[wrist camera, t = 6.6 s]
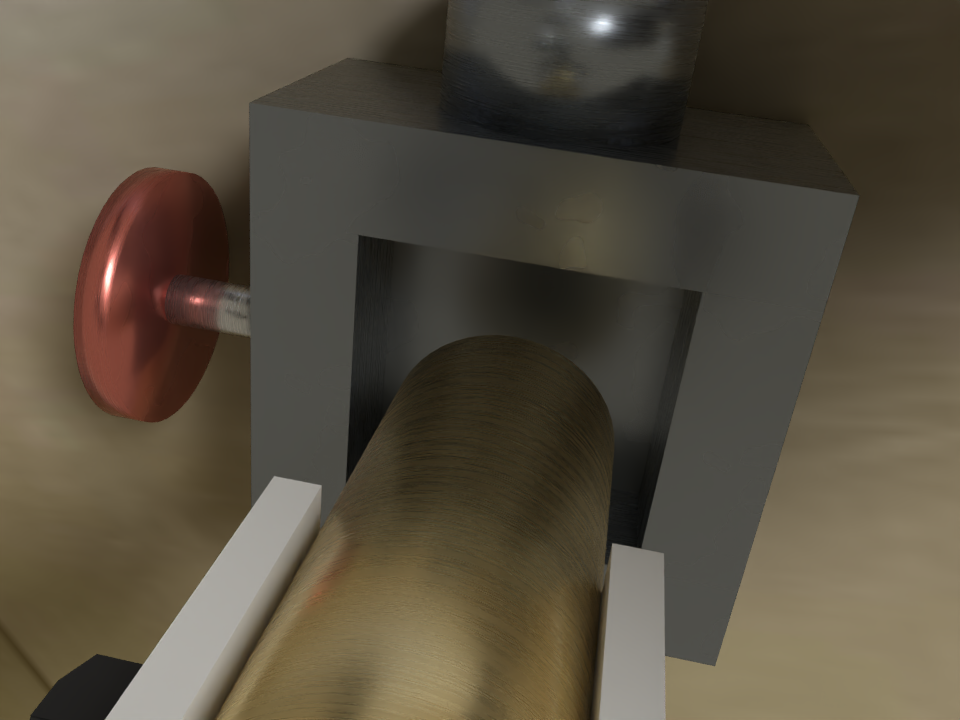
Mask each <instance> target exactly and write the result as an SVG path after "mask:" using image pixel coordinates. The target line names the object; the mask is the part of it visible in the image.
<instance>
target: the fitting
mask: <svg viewBox="0 0 960 720" xmlns="http://www.w3.org/2000/svg"><path fill="white" fill-rule="evenodd" d="M613 458H614V430H613V424H612V419H611V416H610V413H609V410H608V407H607V405H606V403H605V401H604V399H603V397H602V395H601V393H600V392H599V391H598V389H597V388H596V386H595V385H594V383H593V382H592V381H591V380H590V379H589V377H588V376H587V375H586V374H585V373H584V372H583V371H582V370H581V369H580V368H579V367H577V366H576V365H575V364H574V363H573V362H572V361H570V360H569V359H567V358H566V357H564V356H563V355H561V354H560V353H558V352H556V351H554V350H552V349H550V348H548V347H546V346H544V345H541V344H539V343H536V342H533V341H530V340H526V339H522V338H518V337H512V336H503V335H482V336H474V337H468V338H464V339H461V340H457V341H454V342H451V343H449V344H447V345H444V346H442V347H440V348H438V349H437V350H435V351H433V352H431V353H430V354H429V355H427V356H426V357H425V358H423V359H422V360H421V361H420V362H419V363H418V364H417V365H416V366H415V367H414V368H413V369H412V370H411V371H410V372H409V374H408V375H407V377H406V378H405V380H404V381H403V383H402V384H401V386H400V388H399V390H398V392H397V393H396V395H395V397H394V399H393V401H392V402H391V404H390V406H389V408H388V410H387V411H386V413H385V415H384V417H383V419H382V420H381V422H380V424H379V426H378V428H377V429H376V431H375V433H374V435H373V436H372V438H371V440H370V442H369V444H368V445H367V447H366V449H365V451H364V453H363V454H362V456H361V458H360V460H359V462H358V463H357V465H356V467H355V469H354V471H353V472H352V474H351V476H350V478H349V480H348V481H347V483H346V485H345V487H344V489H343V490H342V492H341V494H340V496H339V497H338V499H337V501H336V503H335V505H334V506H333V508H332V510H331V512H330V514H329V515H328V517H327V519H326V521H325V523H324V524H323V526H322V528H321V530H320V532H319V533H318V535H317V537H316V539H315V541H314V542H313V544H312V546H311V548H310V550H309V551H308V553H307V555H306V557H305V558H304V560H303V562H302V564H301V566H300V567H299V569H298V571H297V573H296V575H295V576H294V578H293V580H292V582H291V584H290V585H289V587H288V589H287V591H286V593H285V594H284V596H283V598H282V600H281V602H280V603H279V605H278V607H277V609H276V610H275V612H274V614H273V616H272V618H271V619H270V621H269V623H268V625H267V627H266V628H265V630H264V632H263V634H262V636H261V637H260V639H259V641H258V643H257V645H256V646H255V648H254V650H253V652H252V654H251V655H250V657H249V659H248V661H247V663H246V664H245V666H244V668H243V670H242V671H241V673H240V675H239V677H238V679H237V680H236V682H235V684H234V686H233V688H232V689H231V691H230V693H229V695H228V697H227V698H226V700H225V702H224V704H223V706H222V707H221V709H220V711H219V713H218V715H217V716H216V718H215V720H590V719H591V707H592V696H593V684H594V672H595V661H596V649H597V637H598V626H599V614H600V602H601V593H602V588H603V577H604V565H605V553H606V541H607V529H608V518H609V506H610V494H611V482H612V470H613Z"/></svg>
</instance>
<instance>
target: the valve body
mask: <svg viewBox="0 0 960 720" xmlns="http://www.w3.org/2000/svg"><path fill="white" fill-rule="evenodd" d="M707 4H708V0H449V1H448V12H447V24H446V35H445V46H444V58H443V69H442V72H440V71H433V70H427V69H420V68H413V67H406V66H399V65H392V64H385V63H378V62H371V61H365V60H358V59H351V58H347V59H344V60H342V61H340V62H338V63H336V64H333V65H331V66H329V67H327V68H325V69H322V70H320V71H318V72H316V73H314V74H311V75H309V76H307V77H305V78H303V79H300V80H298V81H296V82H294V83H292V84H289V85H287V86H285V87H283V88H281V89H278V90H276V91H274V92H272V93H270V94H268V95H265V96H263V97H261V98H259V99H257V100H254V101H252V102H250V103H249V126H250V286H245V285H239V284H234V283H228V276H229V247H228V236H227V229H226V224H225V219H224V215H223V211H222V208H221V205H220V203H219V200H218V198H217V196H216V194H215V192H214V190H213V189H212V188H211V186H210V185H209V184H208V182H206V181H205V180H204V179H203V178H202V177H200V176H198V175H196V174H193V173H187V172H181V171H175V170H169V169H163V168H156V167H152V168H145V169H142V170H140V171H137V172H136V173H134V174H132V175H131V176H129V177H128V178H127V179H126V180H125V181H124V182H122V183H121V184H120V185H119V186H118V188H117V189H116V190H115V191H114V192H113V194H112V195H111V196H110V198H109V199H108V201H107V202H106V204H105V205H104V207H103V209H102V210H101V212H100V214H99V216H98V218H97V220H96V222H95V224H94V227H93V229H92V232H91V234H90V236H89V239H88V242H87V245H86V248H85V251H84V254H83V258H82V262H81V266H80V270H79V275H78V281H77V287H76V293H75V304H74V327H73V329H74V345H75V352H76V359H77V364H78V368H79V372H80V376H81V378H82V381H83V383H84V386H85V388H86V390H87V392H88V394H89V396H90V397H91V399H92V400H93V401H94V402H95V404H96V405H97V406H98V407H99V408H101V409H102V410H103V411H104V412H106V413H108V414H111V415H114V416H119V417H124V418H129V419H134V420H140V421H145V422H151V423H152V422H159V421H162V420H164V419H167V418H168V417H170V416H171V415H173V414H174V413H175V412H177V411H178V410H179V409H180V408H181V407H182V406H183V405H184V404H185V402H186V401H187V400H188V399H189V398H190V396H191V395H192V393H193V392H194V390H195V389H196V387H197V385H198V384H199V382H200V380H201V379H202V377H203V374H204V372H205V370H206V368H207V366H208V364H209V361H210V359H211V356H212V354H213V351H214V348H215V345H216V342H217V339H218V335H219V332H221V333H227V334H232V335H238V336H243V337H249V338H251V509H252V507H253V506H254V504H255V503H256V502H257V500H258V499H259V497H260V496H261V494H262V493H263V491H264V490H265V489H266V487H267V486H268V484H269V483H270V481H271V480H272V479H273V477H274V476H276V477H281V478H286V479H292V480H297V481H302V482H307V483H312V484H317V485H322V491H321V517H320V530H321V528H322V526H323V524H324V523H325V521H326V519H327V517H328V515H329V514H330V512H331V510H332V508H333V506H334V505H335V503H336V501H337V499H338V497H339V496H340V494H341V492H342V490H343V489H344V487H345V485H346V483H347V481H348V480H349V478H350V476H351V474H352V472H353V471H354V469H355V467H356V465H357V463H358V462H359V460H360V458H361V456H362V454H363V453H364V451H365V449H366V447H367V445H368V444H369V442H370V440H371V438H372V436H373V435H374V433H375V431H376V429H377V428H378V426H379V424H380V422H381V420H382V419H383V417H384V415H385V413H386V411H387V410H388V408H389V406H390V404H391V402H392V401H393V399H394V397H395V395H396V393H397V392H398V390H399V388H400V386H401V384H402V383H403V381H404V380H405V378H406V377H407V375H408V374H409V372H410V371H411V370H412V369H413V368H414V367H415V366H416V365H417V364H418V363H419V362H420V361H421V360H422V359H423V358H425V357H426V356H427V355H429V354H430V353H431V352H433V351H435V350H437V349H438V348H440V347H442V346H444V345H447V344H449V343H451V342H454V341H457V340H461V339H464V338H468V337H474V336H482V335H503V336H512V337H518V338H522V339H526V340H530V341H533V342H536V343H539V344H541V345H544V346H546V347H548V348H550V349H552V350H554V351H556V352H558V353H560V354H561V355H563V356H564V357H566V358H567V359H569V360H570V361H572V362H573V363H574V364H575V365H576V366H577V367H579V368H580V369H581V370H582V371H583V372H584V373H585V374H586V375H587V376H588V377H589V379H590V380H591V381H592V382H593V383H594V385H595V386H596V388H597V389H598V391H599V392H600V393H601V395H602V397H603V399H604V401H605V403H606V405H607V407H608V410H609V413H610V416H611V419H612V424H613V430H614V458H613V470H612V482H611V494H610V506H609V518H608V529H607V541H606V553H605V565H604V577H603V584H604V579H605V575H606V570H607V566H608V561H609V557H610V552H611V547H612V543H614V544H619V545H624V546H629V547H634V548H639V549H644V550H650V551H655V552H660V553H664V616H665V656H669V657H674V658H679V659H683V660H688V661H693V662H698V663H702V664H707V665H712V666H715V664H716V661H717V658H718V654H719V651H720V648H721V645H722V641H723V638H724V635H725V632H726V628H727V625H728V622H729V619H730V615H731V612H732V609H733V606H734V602H735V599H736V596H737V593H738V589H739V586H740V583H741V580H742V576H743V573H744V570H745V567H746V563H747V560H748V557H749V554H750V550H751V547H752V544H753V541H754V537H755V534H756V531H757V528H758V524H759V521H760V518H761V515H762V511H763V508H764V505H765V502H766V498H767V495H768V492H769V488H770V485H771V482H772V479H773V475H774V472H775V469H776V466H777V462H778V459H779V456H780V453H781V449H782V446H783V443H784V440H785V436H786V433H787V430H788V427H789V423H790V420H791V417H792V414H793V410H794V407H795V404H796V401H797V397H798V394H799V391H800V388H801V384H802V381H803V378H804V375H805V371H806V368H807V365H808V362H809V358H810V355H811V352H812V349H813V345H814V342H815V339H816V336H817V332H818V329H819V326H820V323H821V319H822V316H823V313H824V310H825V306H826V303H827V300H828V297H829V293H830V290H831V287H832V284H833V280H834V277H835V274H836V271H837V267H838V264H839V261H840V257H841V254H842V251H843V248H844V244H845V241H846V238H847V235H848V231H849V228H850V225H851V222H852V218H853V215H854V212H855V209H856V205H857V202H858V199H859V194H858V193H857V192H856V190H855V189H854V187H853V186H852V185H851V183H850V182H849V180H848V179H847V178H846V176H845V175H844V174H843V172H842V171H841V169H840V168H839V167H838V165H837V164H836V162H835V161H834V160H833V158H832V157H831V155H830V154H829V153H828V151H827V150H826V148H825V147H824V146H823V144H822V143H821V142H820V140H819V139H818V137H817V136H816V135H815V133H814V132H813V130H812V129H811V128H810V126H809V125H805V124H798V123H792V122H785V121H778V120H771V119H764V118H757V117H750V116H743V115H736V114H730V113H723V112H716V111H709V110H702V109H695V108H688V107H686V105H687V100H688V95H689V90H690V86H691V81H692V76H693V71H694V66H695V62H696V57H697V52H698V47H699V43H700V38H701V33H702V28H703V23H704V19H705V14H706V9H707Z"/></svg>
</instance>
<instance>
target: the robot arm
mask: <svg viewBox="0 0 960 720" xmlns="http://www.w3.org/2000/svg"><path fill="white" fill-rule="evenodd" d="M321 491H322V485H317V484H312V483H307V482H302V481H297V480H292V479H286V478H281V477H276V476H274V477H273V479H272V480H271V481H270V483H269V484H268V486H267V487H266V489H265V490H264V491H263V493H262V494H261V496H260V497H259V499H258V500H257V502H256V503H255V504H254V506H253V507H252V509H251V510H250V512H249V513H248V515H247V516H246V517H245V519H244V520H243V522H242V523H241V525H240V526H239V527H238V529H237V530H236V532H235V533H234V535H233V536H232V538H231V539H230V540H229V542H228V543H227V545H226V546H225V548H224V549H223V550H222V552H221V553H220V555H219V556H218V558H217V559H216V561H215V562H214V563H213V565H212V566H211V568H210V569H209V571H208V572H207V573H206V575H205V576H204V578H203V579H202V581H201V582H200V584H199V585H198V586H197V588H196V589H195V591H194V592H193V594H192V595H191V597H190V598H189V599H188V601H187V602H186V604H185V605H184V607H183V608H182V609H181V611H180V612H179V614H178V615H177V617H176V618H175V620H174V621H173V622H172V624H171V625H170V627H169V628H168V630H167V631H166V632H165V634H164V635H163V637H162V638H161V640H160V641H159V643H158V644H157V645H156V647H155V648H154V650H153V651H152V653H151V654H150V655H149V657H148V658H147V660H146V661H145V663H144V664H139V663H134V662H130V661H125V660H121V659H117V658H112V657H108V656H103V655H99V654H96V655H95V656H93V657H92V658H91V659H89V660H88V661H86V662H85V663H83V664H82V665H80V666H79V667H77V668H76V669H74V670H73V671H71V672H70V673H69V674H67V675H66V676H64V677H63V678H61V679H60V680H58V681H57V683H56V684H55V685H54V686H53V688H52V689H51V690H50V691H49V693H48V694H47V695H46V697H45V698H44V699H43V700H42V702H41V703H40V704H39V705H38V707H37V708H36V709H35V710H34V712H33V713H32V714H31V717H30V720H215V718H216V716H217V715H218V713H219V711H220V709H221V707H222V706H223V704H224V702H225V700H226V698H227V697H228V695H229V693H230V691H231V689H232V688H233V686H234V684H235V682H236V680H237V679H238V677H239V675H240V673H241V671H242V670H243V668H244V666H245V664H246V663H247V661H248V659H249V657H250V655H251V654H252V652H253V650H254V648H255V646H256V645H257V643H258V641H259V639H260V637H261V636H262V634H263V632H264V630H265V628H266V627H267V625H268V623H269V621H270V619H271V618H272V616H273V614H274V612H275V610H276V609H277V607H278V605H279V603H280V602H281V600H282V598H283V596H284V594H285V593H286V591H287V589H288V587H289V585H290V584H291V582H292V580H293V578H294V576H295V575H296V573H297V571H298V569H299V567H300V566H301V564H302V562H303V560H304V558H305V557H306V555H307V553H308V551H309V550H310V548H311V546H312V544H313V542H314V541H315V539H316V537H317V535H318V533H319V532H320V517H321ZM590 720H665V616H664V553H660V552H655V551H650V550H644V549H639V548H634V547H629V546H624V545H619V544H614V543H612V547H611V552H610V557H609V561H608V566H607V570H606V575H605V579H604V584H603V588H602V593H601V602H600V614H599V626H598V637H597V649H596V661H595V672H594V684H593V696H592V707H591V719H590Z"/></svg>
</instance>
